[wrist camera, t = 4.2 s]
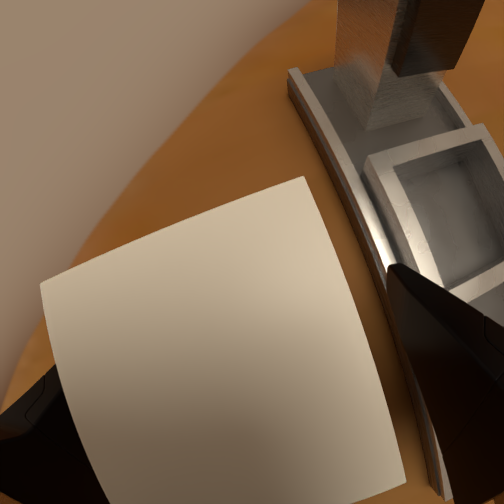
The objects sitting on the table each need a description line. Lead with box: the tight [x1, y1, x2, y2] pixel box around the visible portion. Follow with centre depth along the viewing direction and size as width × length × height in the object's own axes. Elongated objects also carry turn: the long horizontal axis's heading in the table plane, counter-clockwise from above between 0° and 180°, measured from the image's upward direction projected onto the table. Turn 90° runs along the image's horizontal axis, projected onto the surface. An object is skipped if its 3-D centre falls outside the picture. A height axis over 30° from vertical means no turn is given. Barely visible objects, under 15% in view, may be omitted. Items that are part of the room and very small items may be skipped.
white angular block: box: [40, 176, 406, 504], centre depth 9 cm, size 5×4×12 cm
